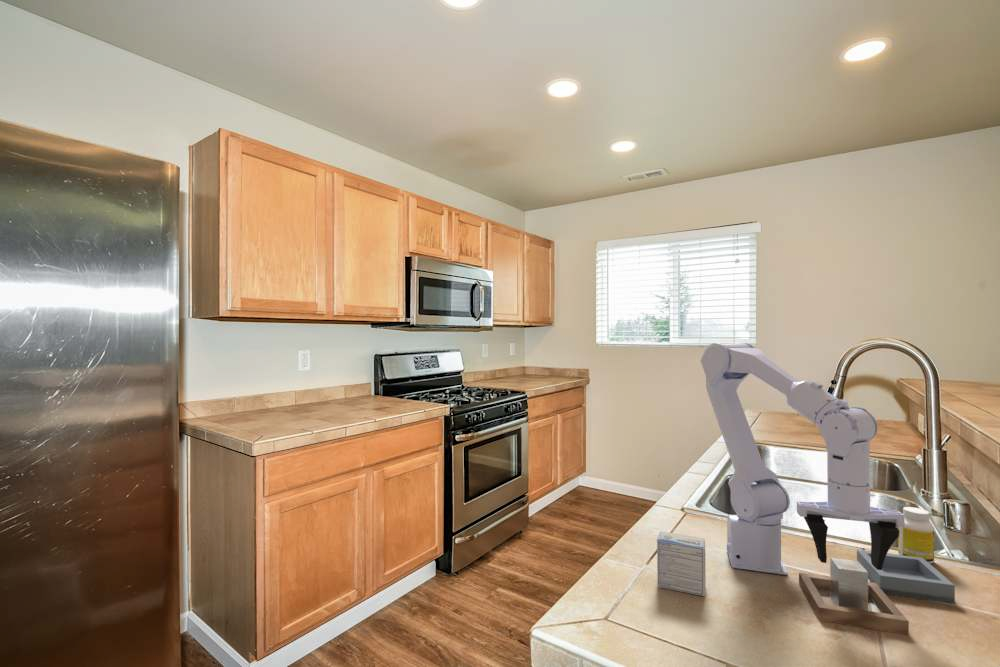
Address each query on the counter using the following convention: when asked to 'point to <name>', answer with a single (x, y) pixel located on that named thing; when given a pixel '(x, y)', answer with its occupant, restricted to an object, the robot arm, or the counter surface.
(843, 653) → the counter surface
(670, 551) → the medicine box
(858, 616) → the brown flat square frame
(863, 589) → the brushed metal top block
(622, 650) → the counter surface
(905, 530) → the supplement bottle
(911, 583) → the tray
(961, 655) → the counter surface
